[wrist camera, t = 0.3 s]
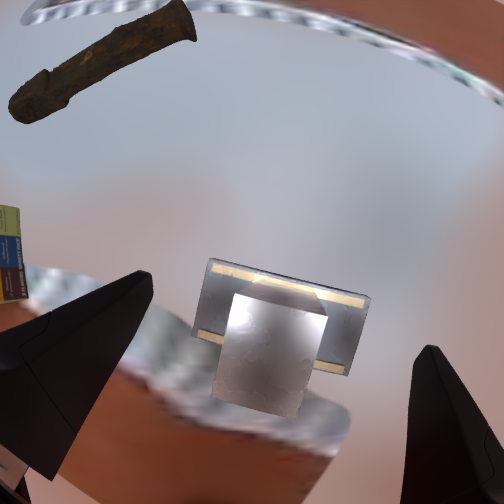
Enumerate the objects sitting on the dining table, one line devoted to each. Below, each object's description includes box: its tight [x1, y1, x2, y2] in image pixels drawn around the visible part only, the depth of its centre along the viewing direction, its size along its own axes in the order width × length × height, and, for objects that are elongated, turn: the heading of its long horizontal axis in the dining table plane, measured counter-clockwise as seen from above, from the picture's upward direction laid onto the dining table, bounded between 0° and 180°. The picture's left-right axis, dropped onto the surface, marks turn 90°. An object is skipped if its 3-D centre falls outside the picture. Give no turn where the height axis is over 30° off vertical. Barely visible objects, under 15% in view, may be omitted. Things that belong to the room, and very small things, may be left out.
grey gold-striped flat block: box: [192, 258, 371, 376], centre depth 23 cm, size 12×6×2 cm, turn 76°
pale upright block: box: [211, 279, 328, 419], centre depth 18 cm, size 4×5×9 cm
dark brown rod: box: [8, 0, 197, 124], centre depth 25 cm, size 23×5×6 cm, turn 105°
